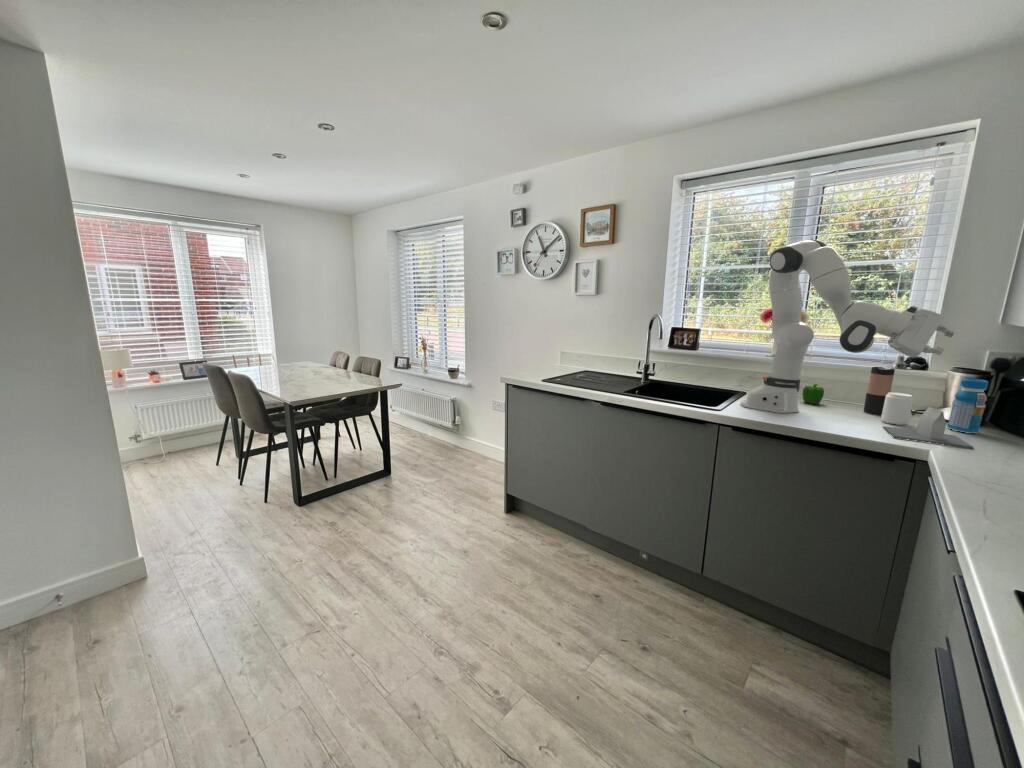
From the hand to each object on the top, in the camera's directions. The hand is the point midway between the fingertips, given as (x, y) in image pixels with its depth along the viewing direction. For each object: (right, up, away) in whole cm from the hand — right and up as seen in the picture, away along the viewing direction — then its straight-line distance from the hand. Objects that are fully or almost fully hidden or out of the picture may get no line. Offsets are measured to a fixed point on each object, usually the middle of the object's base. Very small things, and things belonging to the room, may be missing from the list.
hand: (947, 343), depth 136 cm
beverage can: (+9, -30, +29) cm, 42 cm away
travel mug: (+14, -27, +44) cm, 53 cm away
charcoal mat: (+3, -33, +10) cm, 35 cm away
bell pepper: (-2, -23, +59) cm, 64 cm away
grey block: (+4, -33, +10) cm, 34 cm away
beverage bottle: (+27, -32, +20) cm, 46 cm away
